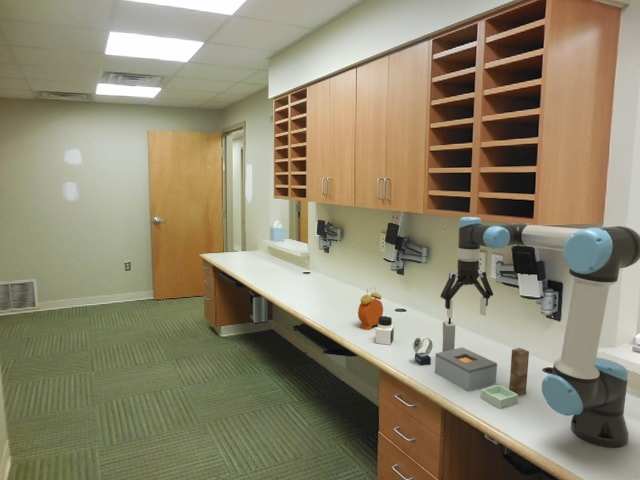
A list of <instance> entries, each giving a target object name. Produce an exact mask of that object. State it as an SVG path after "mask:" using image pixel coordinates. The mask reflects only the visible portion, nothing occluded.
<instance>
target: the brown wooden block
mask: <svg viewBox="0 0 640 480" xmlns="http://www.w3.org/2000/svg"><path fill="white" fill-rule="evenodd" d="M529 354H530V350H529V351H528V350H527V349H524V348H521V347H517V348H514V349H511V358H510V374H509V375H510V376H509V389H508V390H510V391H512V392H514V393H516V394H518V397H521V396H523V395H524V396H525V395H526V394H527V384H528V372H529V371H528V370H529V358H530V357H529Z"/></svg>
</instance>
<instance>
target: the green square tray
mask: <svg viewBox="0 0 640 480" xmlns="http://www.w3.org/2000/svg"><path fill="white" fill-rule="evenodd" d="M480 399H482V400H483V401H486V402H487V403H489V404H491V405H493V406H494V407H496V408H498V409H503V408H506V407H510V406H513V405H516V404H518V402H519V396H518V394H516V393H514V392H512V391H510V390H509V389H508V388H506V387H504V386H502V385H501V384H496V385H495V384H494V385H493V386H492V385H491V386H488V387H485V388H481V390H480Z"/></svg>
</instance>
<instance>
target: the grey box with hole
mask: <svg viewBox="0 0 640 480" xmlns="http://www.w3.org/2000/svg"><path fill="white" fill-rule="evenodd" d="M464 357H466V358H468V359H470V360H472V361H471V362H467V363H465V362H463V361H461V360H459V359H460V358H464ZM434 358H435V359H434V360H435V362H434V373H435V374H436V375H439V376H440V377H442V378H443V379H445V380H447V381H449V382H451V383H453V384H454V385H457V386H458V387H460V388H462V389H463V390H466V391H467V392H471V391H474V390H475V391H476V390H477V389H483V388H484V387H485V388H486V387H490V386H492V385H495V384H496V385H497V375H498V374H497V372H498V371H497V369H498V362H496V361H493V360H491V359H489V358H487V357H484V356H482V355H480V354H477V353H475V352H473V351H471V350H469V349H467V348H465V347H463V346H462V347H458V348H454V349H453V350H448V351H444V352H442V351H439V352H436V353H435V357H434Z"/></svg>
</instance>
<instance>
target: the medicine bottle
mask: <svg viewBox="0 0 640 480" xmlns="http://www.w3.org/2000/svg"><path fill="white" fill-rule="evenodd" d="M392 320H393V319H392V317H391V316H390V315H389V316H388V315H382V316H381V317H379V324H378V326H376V328H375V344H379V345H388V346H391V345H392V343H393V341H394V337H395V336H394V335H395V333H394V332H395V331H394V330H395V326H394V325H393V324H392V322H393V321H392Z"/></svg>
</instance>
